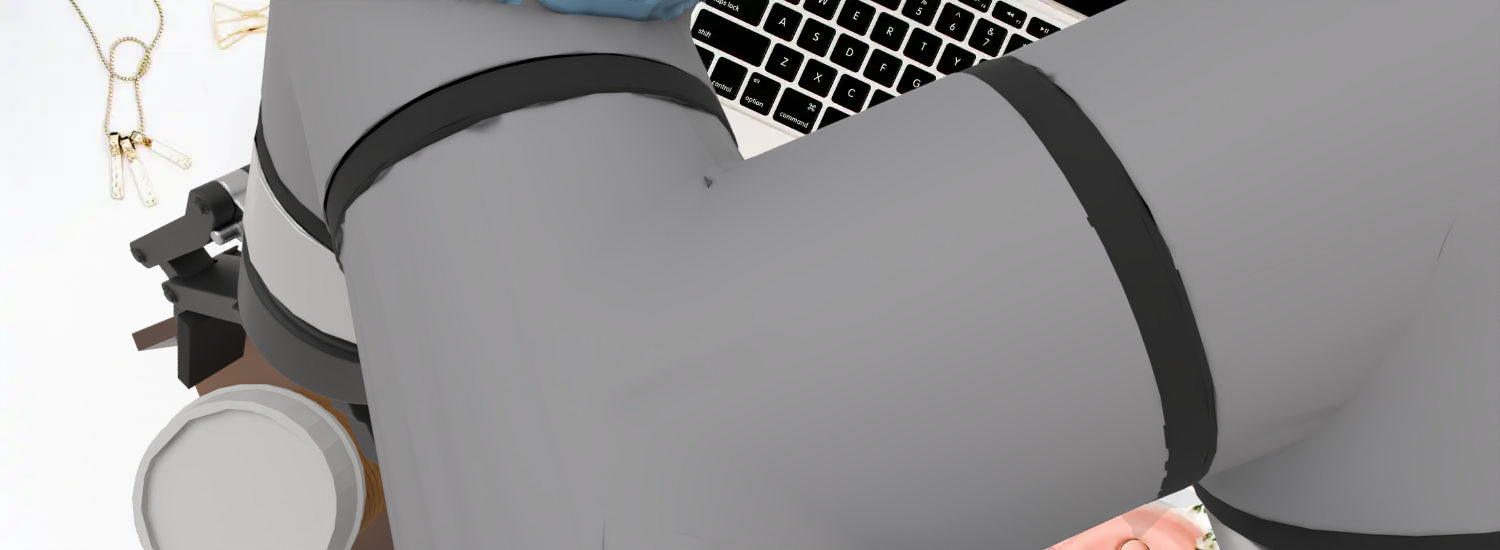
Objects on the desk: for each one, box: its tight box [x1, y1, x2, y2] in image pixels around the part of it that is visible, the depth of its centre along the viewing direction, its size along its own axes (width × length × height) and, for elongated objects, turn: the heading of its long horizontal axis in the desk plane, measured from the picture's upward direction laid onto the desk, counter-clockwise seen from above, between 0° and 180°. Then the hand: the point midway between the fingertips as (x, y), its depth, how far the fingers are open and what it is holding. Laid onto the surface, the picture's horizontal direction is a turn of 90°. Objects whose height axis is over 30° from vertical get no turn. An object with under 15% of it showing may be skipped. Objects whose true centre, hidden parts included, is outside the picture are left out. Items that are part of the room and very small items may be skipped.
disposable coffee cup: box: [131, 384, 387, 550], centre depth 41 cm, size 10×10×12 cm
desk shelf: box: [131, 315, 394, 550], centre depth 47 cm, size 16×14×6 cm
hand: (310, 470), depth 40 cm, fingers open, 13 cm apart
